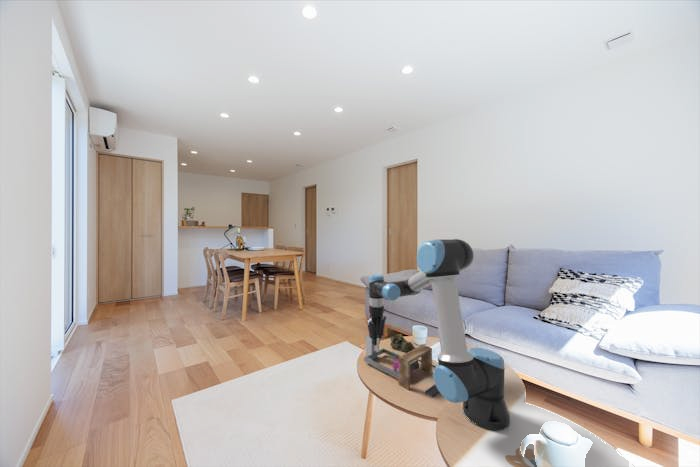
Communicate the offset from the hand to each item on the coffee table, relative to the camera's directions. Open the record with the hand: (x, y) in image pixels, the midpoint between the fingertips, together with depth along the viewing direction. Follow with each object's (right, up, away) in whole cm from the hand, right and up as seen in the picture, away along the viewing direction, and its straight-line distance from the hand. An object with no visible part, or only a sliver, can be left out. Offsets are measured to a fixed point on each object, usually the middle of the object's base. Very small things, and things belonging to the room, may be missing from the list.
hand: (376, 350), depth 139 cm
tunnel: (+16, -5, -18) cm, 24 cm away
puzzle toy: (+11, -5, -13) cm, 18 cm away
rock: (+16, -5, +14) cm, 22 cm away
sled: (+5, -5, -6) cm, 9 cm away
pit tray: (+23, -5, -25) cm, 35 cm away
